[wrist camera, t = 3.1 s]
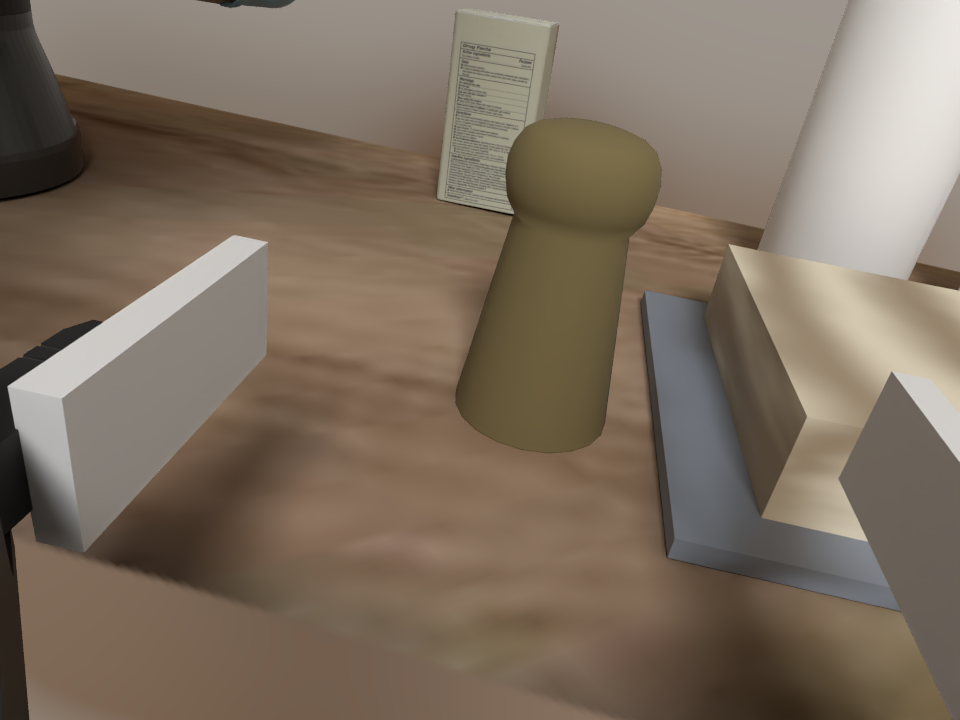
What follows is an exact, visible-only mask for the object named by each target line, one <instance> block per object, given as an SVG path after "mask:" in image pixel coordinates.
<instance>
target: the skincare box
mask: <svg viewBox="0 0 960 720" xmlns="http://www.w3.org/2000/svg"><path fill="white" fill-rule="evenodd" d="M558 30H559V23H555V22H550V21H544V20H538V19H532V18H526V17H520V16H514V15H508V14H502V13H495V12H489V11H483V10H477V9H461V10H457V11H456V13H455V24H454V33H453V44H452V53H451V63H450V73H449V83H448V93H447V102H446V111H445V122H444V131H443V141H442V149H441V159H440V170H439V179H438V189H437V199H440V200H444V201H449V202H454V203H459V204H464V205H469V206H474V207H479V208H484V209H489V210H493V211H498V212H504V213H509V214H514V211H513V209H512V207H511V205H510V203H509V200H508V198H507V192H506V178H505V171H506V164H507V158H508V154H509V152H510V149H511V147H512V145H513V142H514V140H515V139H516V138H517V136H518V135H519V134H520V133H521V132H522V131H523V129H524V128H525V127H526V126H528V125H530V124H532V123H534V122H537V121H539V120H543V119H544V114H545V108H546V103H547V97H548V91H549V84H550V79H551V73H552V67H553V61H554V54H555V48H556V42H557V36H558Z"/></svg>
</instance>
